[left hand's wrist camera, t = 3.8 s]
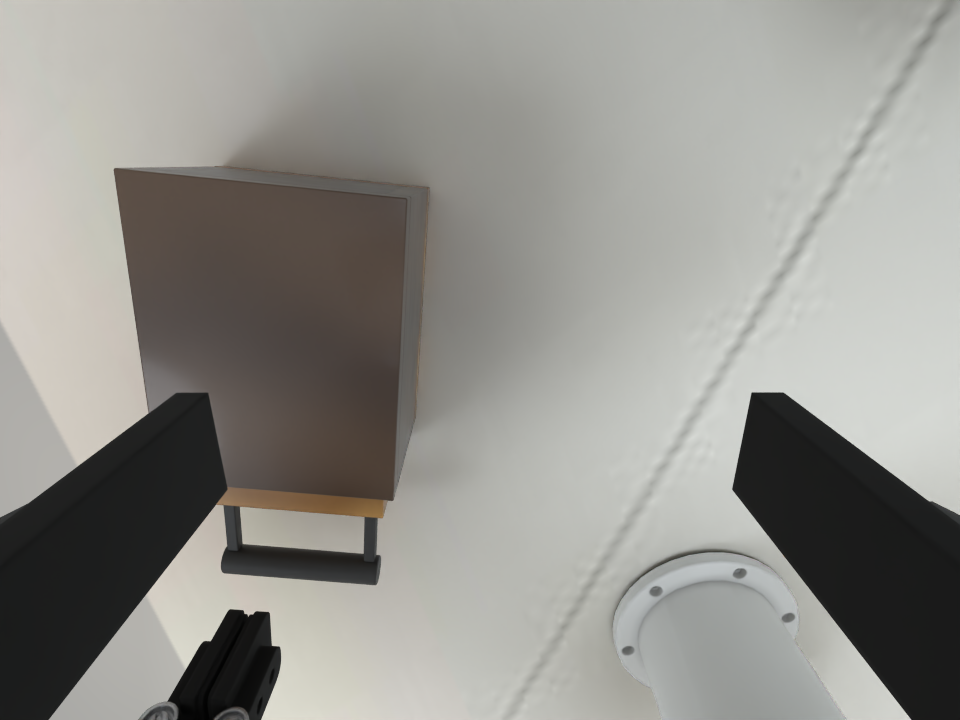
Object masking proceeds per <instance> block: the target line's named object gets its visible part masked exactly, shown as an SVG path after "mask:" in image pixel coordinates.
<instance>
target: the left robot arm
mask: <svg viewBox="0 0 960 720" xmlns="http://www.w3.org/2000/svg"><path fill="white" fill-rule="evenodd" d="M227 490H228V488H227V483H226V478H225V473H224V468H223V463H222V458H221V453H220V448H219V443H218V438H217V433H216V428H215V424H214V419H213V414H212V409H211V404H210V399H209V394H208V393H175V394H174V395H173V396H171V397H170V398H169V399H167V400H166V401H165V402H163V403H162V404H161V405H159V406H158V407H157V408H155V409H154V410H153V411H151V412H150V413H149V414H147V415H146V416H145V417H143V418H142V419H141V420H139V421H138V422H137V423H135V424H134V425H133V426H131V427H130V428H129V429H127V430H126V431H125V432H123V433H122V434H121V435H119V436H118V437H117V438H115V439H114V440H113V441H111V442H110V443H109V444H107V445H106V446H105V447H103V448H102V449H101V450H99V451H98V452H97V453H95V454H94V455H93V456H91V457H90V458H89V459H87V460H86V461H84V462H83V463H82V464H80V465H79V466H78V467H76V468H75V469H74V470H73V471H71V472H70V473H68V474H67V475H66V476H65V477H63V478H62V479H60V480H59V481H58V482H56V483H55V484H54V485H52V486H51V487H50V488H48V489H47V490H46V491H44V492H43V493H42V494H40V495H39V496H38V497H36V498H35V499H34V500H32V501H31V502H30V503H28V504H26V505H24V506H22V507H20V508H18V509H16V510H14V511H12V512H10V513H8V514H6V515H4V516H2V517H0V720H49V718H50V717H51V716H52V715H53V713H54V712H55V711H56V709H57V708H58V707H59V706H60V704H61V703H62V702H63V700H64V699H65V698H66V697H67V695H68V694H69V693H70V691H71V690H72V689H73V688H74V686H75V685H76V684H77V682H78V681H79V680H80V679H81V677H82V676H83V675H84V674H85V672H86V671H87V670H88V668H89V667H90V666H91V664H92V663H93V662H94V661H95V659H96V658H97V657H98V656H99V654H100V653H101V652H102V650H103V649H104V648H105V646H106V645H107V644H108V643H109V641H110V640H111V639H112V638H113V636H114V635H115V634H116V632H117V631H118V630H119V628H120V627H121V626H122V625H123V623H124V622H125V621H126V620H127V618H128V617H129V616H130V614H131V613H132V612H133V610H134V609H135V608H136V607H137V605H138V604H139V603H140V602H141V600H142V599H143V598H144V596H145V595H146V594H147V593H148V591H149V590H150V589H151V587H152V586H153V585H154V584H155V582H156V581H157V580H158V578H159V577H160V576H161V575H162V573H163V572H164V571H165V569H166V568H167V567H168V566H169V564H170V563H171V562H172V560H173V559H174V558H175V557H176V555H177V554H178V553H179V551H180V550H181V549H182V548H183V546H184V545H185V544H186V542H187V541H188V540H189V539H190V537H191V536H192V535H193V533H194V532H195V531H196V530H197V528H198V527H199V526H200V524H201V523H202V522H203V521H204V519H205V518H206V517H207V516H208V514H209V513H210V512H211V510H212V509H213V508H214V507H215V505H216V504H217V503H218V501H219V500H220V499H221V498H222V496H223V495H224V494H225V492H226V491H227ZM732 490H733V491H734V492H735V494H736V495H737V496H738V498H739V499H740V500H741V501H742V503H743V504H744V505H745V507H746V508H747V509H748V510H749V512H750V513H751V514H752V516H753V517H754V518H755V519H756V521H757V522H758V523H759V524H760V526H761V527H762V528H763V530H764V531H765V532H766V533H767V535H768V536H769V537H770V539H771V540H772V541H773V542H774V544H775V545H776V546H777V548H778V549H779V550H780V551H781V553H782V554H783V555H784V557H785V558H786V559H787V560H788V562H789V563H790V564H791V566H792V567H793V568H794V569H795V571H796V572H797V573H798V575H799V576H800V577H801V578H802V580H803V581H804V582H805V584H806V585H807V586H808V587H809V589H810V590H811V591H812V593H813V594H814V595H815V596H816V598H817V599H818V600H819V602H820V603H821V604H822V605H823V607H824V608H825V609H826V611H827V612H828V613H829V614H830V616H831V617H832V618H833V620H834V621H835V622H836V623H837V625H838V626H839V627H840V629H841V630H842V631H843V632H844V634H845V635H846V636H847V638H848V639H849V640H850V641H851V643H852V644H853V645H854V647H855V648H856V649H857V650H858V652H859V653H860V654H861V656H862V657H863V658H864V659H865V661H866V662H867V663H868V665H869V666H870V667H871V668H872V670H873V671H874V672H875V674H876V675H877V676H878V677H879V679H880V680H881V681H882V683H883V684H884V685H885V686H886V688H887V689H888V690H889V691H890V693H891V694H892V695H893V697H894V698H895V699H896V700H897V702H898V703H899V704H900V706H901V707H902V708H903V709H904V711H905V712H906V713H907V715H908V716H909V717H910V718H911V720H960V515H958V514H956V513H954V512H952V511H950V510H948V509H946V508H944V507H942V506H940V505H938V504H936V503H934V502H929V501H928V500H926V499H925V498H924V497H922V496H921V495H920V494H918V493H917V492H916V491H914V490H913V489H912V488H910V487H909V486H908V485H906V484H905V483H904V482H902V481H901V480H900V479H898V478H897V477H896V476H894V475H893V474H892V473H890V472H889V471H888V470H886V469H885V468H884V467H882V466H881V465H880V464H878V463H877V462H876V461H874V460H873V459H871V458H870V457H869V456H867V455H866V454H865V453H863V452H862V451H861V450H859V449H858V448H857V447H855V446H854V445H853V444H851V443H850V442H849V441H847V440H846V439H845V438H843V437H842V436H841V435H839V434H838V433H837V432H835V431H834V430H833V429H831V428H830V427H829V426H827V425H826V424H825V423H823V422H822V421H821V420H819V419H818V418H817V417H815V416H814V415H813V414H811V413H810V412H809V411H807V410H806V409H805V408H803V407H802V406H801V405H799V404H798V403H797V402H795V401H794V400H793V399H791V398H790V397H789V396H787V395H786V394H785V393H752V394H751V399H750V404H749V409H748V414H747V419H746V424H745V428H744V433H743V438H742V443H741V448H740V453H739V458H738V463H737V468H736V473H735V478H734V483H733V488H732Z"/></svg>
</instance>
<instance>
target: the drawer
mask: <svg viewBox="0 0 960 720" xmlns="http://www.w3.org/2000/svg"><path fill="white" fill-rule="evenodd" d="M227 488H228V490H227V491H226V492H225V494H224V495H223V496H222V498H221V499H220V500H219V501H218V503H217V504H216V505H224V514H225V525H226V536H227V547H226V549H225V551H224V553H223V557H222V561H221V570H222V572H223V573H227V574H240V575H253V576H265V577H278V578H290V579H303V580H316V581H328V582H341V583H354V584H366V585H377V583H378V579H379V574H380V567H381V556H380V555H376V548H377V519H378V518H383V516H384V512H385V509H386V505H387V501H388V500H376V499H364V498H352V497H340V496H328V495H316V494H304V493H293V492H281V491H269V490H257V489H245V488H233V487H227ZM240 506H241V507H253V508H265V509H277V510H289V511H301V512H313V513H325V514H337V515H349V516H361V517H365V527H364V554H358V553H345V552H333V551H321V550H308V549H296V548H284V547H271V546H259V545H246V544H242V531H241V518H240Z"/></svg>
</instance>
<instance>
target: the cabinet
mask: <svg viewBox="0 0 960 720" xmlns="http://www.w3.org/2000/svg"><path fill="white" fill-rule="evenodd" d="M114 175H115V182H116V189H117V196H118V203H119V210H120V217H121V224H122V231H123V238H124V244H125V251H126V258H127V265H128V272H129V279H130V286H131V293H132V300H133V307H134V314H135V321H136V328H137V335H138V342H139V349H140V356H141V363H142V370H143V377H144V384H145V391H146V398H147V405H148V412H149V413H150V412H151V411H153V410H154V409H155V408H157V407H158V406H159V405H161V404H162V403H163V402H165V401H166V400H167V399H169V398H170V397H171V396H173V395H174V394H175V393H208V394H209V399H210V404H211V409H212V414H213V419H214V424H215V428H216V433H217V438H218V443H219V448H220V453H221V458H222V463H223V468H224V473H225V478H226V483H227V487H233V488H245V489H257V490H269V491H281V492H293V493H304V494H316V495H328V496H340V497H352V498H364V499H376V500H388V501H393V500H394V496H395V493H396V489H397V485H398V481H399V478H400V474H401V470H402V466H403V462H404V458H405V455H406V451H407V447H408V443H409V439H410V436H411V432H412V428H413V424H414V422H415V418H416V402H417V386H418V369H419V353H420V336H421V320H422V303H423V286H424V270H425V253H426V237H427V220H428V204H429V188H428V187H419V186H409V185H399V184H390V183H380V182H370V181H361V180H351V179H341V178H332V177H322V176H312V175H303V174H293V173H283V172H274V171H264V170H254V169H245V168H235V167H225V166H215V167H158V168H115V169H114Z"/></svg>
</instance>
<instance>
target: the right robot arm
mask: <svg viewBox="0 0 960 720" xmlns="http://www.w3.org/2000/svg"><path fill="white" fill-rule="evenodd" d="M799 619H800V617H799V611H798V605H797V602H796V600H795V598H794V596H793V594H792V592H791V591H790V589H789V588H788V587H787V585H786V584H785V582H784V581H783V580H782V578H781V577H780V576H779V575H778V574H776V573H775V572H774V571H773V570H772V569H771V568H770V567H768V566H766V565H764V564H763V563H761V562H759V561H757V560H755V559H752V558H749V557H746V556H743V555H738V554H732V553H726V552H706V553H700V554H693V555H688V556H684V557H681V558H678V559H674V560H671V561H669V562H667V563H665V564H663V565H660V566H658V567H656V568H654V569H653V570H651V571H650V572H648V573H647V574H645V575H644V576H643V577H641V578H640V579H639V580H638V581H637V582H636V583H635V584H634V585H633V586H632V587H631V588H629V590H628V591H627V593H626V594H625V595H624V597H623V598H622V599H621V601H620V603H619V605H618V608H617V610H616V612H615V616H614V621H613V626H612V627H613V640H614V643H615V647H616V651H617V654H618V656H619V658H620V661H621V663H622V665H623V666H624V668H625V669H626V670H627V671H628V672H629V673H630V675H631V676H632V677H634V678H635V679H636V680H638V681H639V682H640V683H641V684H643V685H645V686H647V687H649V688H651V689H652V691H653V694H654V697H655V700H656V703H657V706H658V709H659V712H660V715H661V719H662V720H847V719H846V718H845V716H844V714H843V713H842V711H841V710H840V708H839V707H838V705H837V704H836V702H835V701H834V699H833V698H832V696H831V695H830V693H829V692H828V690H827V689H826V687H825V686H824V684H823V682H822V681H821V679H820V678H819V676H818V675H817V673H816V672H815V670H814V669H813V667H812V666H811V664H810V663H809V661H808V660H807V658H806V657H805V655H804V654H803V652H802V650H801V649H800V647H799V646H798V644H797V643H796V641H795V638H796V636H797V633H798V629H799ZM280 665H281V650H280V647H277V646H272V643H271V626H270V613H269V612H258V611H256V612H255V613H254V615H249V617H248V615H247V614H244V611H243V610H232V609H230V610H229V611H228V612H227V614H226V616H225V617H224V619H223V621H222V623H221V624H220V626H219V628H218V630H217V631H216V633H215V635H214V637H213V639H212V640H211V641H204V642H203V643H202V644H201V645H200V647H199V648H198V650H197V652H196V653H195V655H194V657H193V659H192V660H191V662H190V664H189V665H188V667H187V669H186V671H185V672H184V674H183V676H182V677H181V679H180V681H179V682H178V684H177V686H176V688H175V689H174V691H173V693H172V694H171V696H170V698H169V700H168V701H167V702H161V703H158V704H155V705H153V706H152V707H150V708H149V709H147V710H146V711H145V712H144V713H143V714H142V715H141V717H140V718H139V719H138V720H261V718H262V716H263V713H264V711H265V708H266V706H267V703H268V701H269V698H270V696H271V693H272V691H273V688H274V686H275V683H276V681H277V678H278V674H279V670H280Z"/></svg>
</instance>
